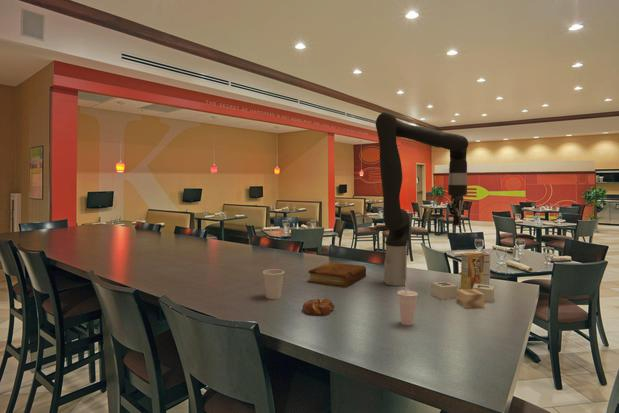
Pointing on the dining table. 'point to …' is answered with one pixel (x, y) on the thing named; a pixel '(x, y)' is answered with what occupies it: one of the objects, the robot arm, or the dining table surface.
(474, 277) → the candy box
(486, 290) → the marked block
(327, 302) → the brown braided bread bun
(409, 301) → the smoothie
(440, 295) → the marked block
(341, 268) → the diary
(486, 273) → the syrup box
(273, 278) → the dixie cup
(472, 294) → the plain block
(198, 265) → the dining table surface
